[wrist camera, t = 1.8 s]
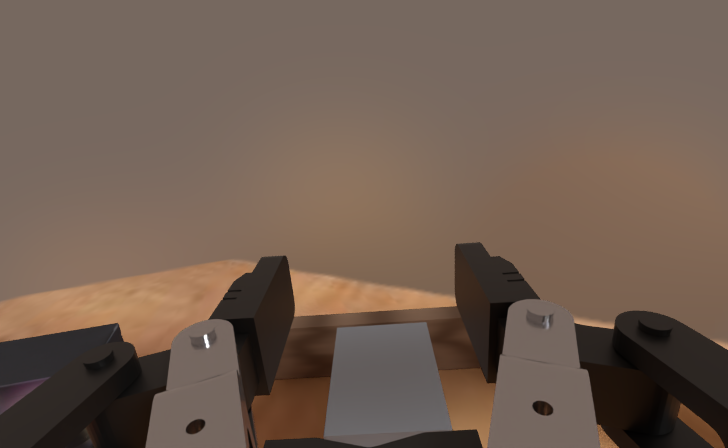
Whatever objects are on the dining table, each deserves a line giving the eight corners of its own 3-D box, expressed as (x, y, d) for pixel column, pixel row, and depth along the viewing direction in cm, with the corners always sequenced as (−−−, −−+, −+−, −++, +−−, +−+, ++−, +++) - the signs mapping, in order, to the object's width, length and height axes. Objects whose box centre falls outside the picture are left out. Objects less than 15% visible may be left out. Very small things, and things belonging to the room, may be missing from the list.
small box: (-23, 511, 29) (-90, 402, 26) (28, 439, 35) (-20, 343, 32) (128, 475, 31) (85, 369, 28) (152, 413, 37) (120, 319, 34)
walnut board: (518, 351, 41) (521, 302, 39) (525, 364, 39) (529, 313, 37) (255, 367, 42) (245, 319, 40) (250, 380, 40) (239, 331, 38)
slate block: (429, 420, 34) (426, 322, 30) (452, 550, 24) (452, 429, 21) (349, 424, 34) (337, 327, 31) (341, 554, 25) (323, 436, 21)
